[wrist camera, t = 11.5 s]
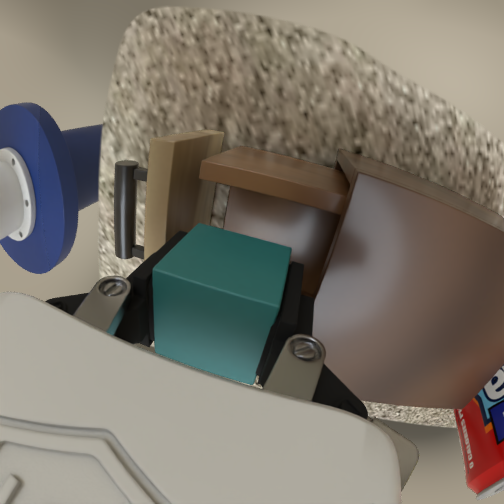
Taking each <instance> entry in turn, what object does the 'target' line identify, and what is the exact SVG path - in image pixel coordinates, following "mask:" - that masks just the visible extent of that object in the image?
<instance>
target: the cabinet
mask: <svg viewBox="0 0 504 504" xmlns="http://www.w3.org/2000/svg"><path fill="white" fill-rule="evenodd" d="M334 169H336V170H339V171H342V172H344V173H345V175H346V177H347V179H348V181H349V183H350V189H349V192H348V195H347V199H346V202H345V205H344V208H343V211H342V214H341V217H340V221H339V224H338V227H337V230H336V233H335V236H334V239H333V242H332V244H331V247H330V250H329V253H328V256H327V259H326V262H325V264H324V267H323V270H322V273H321V275H320V278H319V281H318V283H317V286H316V289H315V291H314V294H313V297H312V298H314V316H313V332H312V336H313V337H315V338H317V339H318V340H319V341H320V342H321V343H322V344H323V345H324V347H325V350H326V357H325V360H324V364H325V365H326V366H327V367H328V368H329V369H330V370H331V371H332V372H333V373H334V374H335V375H336V376H337V377H338V378H339V379H340V380H341V381H342V382H343V383H344V384H345V385H346V386H347V387H348V388H349V389H350V390H351V391H352V393H353V394H354V395H355V396H356V397H357V398H358V399H359V400H362V401H369V402H376V403H384V404H392V405H402V406H412V407H425V408H442V409H463V408H464V407H465V406H466V405H467V404H468V403H469V402H470V401H471V400H472V399H473V398H474V397H475V396H476V395H477V394H478V393H479V392H480V391H481V390H482V389H483V388H484V386H485V385H486V384H487V383H488V382H489V381H490V380H491V379H492V378H493V376H494V375H495V374H496V373H497V372H498V370H499V369H500V368H501V367H502V366H503V364H504V218H503V217H502V216H500V215H499V214H497V213H495V212H493V211H492V210H490V209H488V208H486V207H484V206H482V205H480V204H478V203H476V202H474V201H472V200H470V199H468V198H466V197H464V196H462V195H460V194H458V193H456V192H453V191H451V190H449V189H447V188H445V187H442V186H440V185H438V184H436V183H433V182H431V181H429V180H426V179H424V178H421V177H419V176H416V175H414V174H411V173H409V172H406V171H404V170H401V169H399V168H396V167H393V166H390V165H388V164H385V163H382V162H379V161H376V160H374V159H371V158H368V157H365V156H362V155H358V154H355V153H352V152H349V151H346V150H343V149H339V151H338V154H337V158H336V162H335V166H334Z"/></svg>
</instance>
